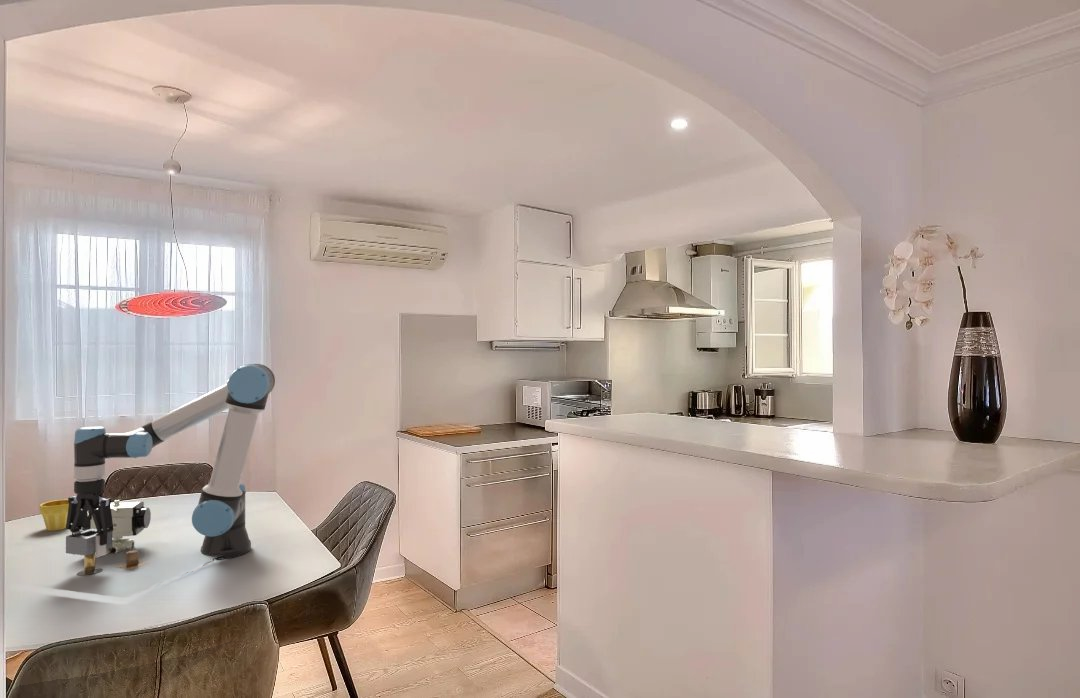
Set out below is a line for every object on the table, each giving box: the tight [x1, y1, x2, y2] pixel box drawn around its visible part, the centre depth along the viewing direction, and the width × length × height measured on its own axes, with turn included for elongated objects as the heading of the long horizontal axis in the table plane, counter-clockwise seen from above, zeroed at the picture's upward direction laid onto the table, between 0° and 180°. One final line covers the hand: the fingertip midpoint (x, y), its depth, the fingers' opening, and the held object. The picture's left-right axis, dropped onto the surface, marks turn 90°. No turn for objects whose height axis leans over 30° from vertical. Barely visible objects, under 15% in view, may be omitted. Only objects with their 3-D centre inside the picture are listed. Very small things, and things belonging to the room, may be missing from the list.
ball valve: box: [82, 499, 152, 555], centre depth 204 cm, size 18×8×18 cm, turn 105°
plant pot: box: [39, 498, 69, 532], centre depth 232 cm, size 10×10×10 cm
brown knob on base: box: [115, 549, 150, 570], centre depth 190 cm, size 6×6×6 cm
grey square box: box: [65, 529, 113, 556], centre depth 184 cm, size 8×8×5 cm
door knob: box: [76, 553, 104, 577], centre depth 184 cm, size 6×6×9 cm
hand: (89, 554), depth 184 cm, fingers closed on grey square box, 8 cm apart
